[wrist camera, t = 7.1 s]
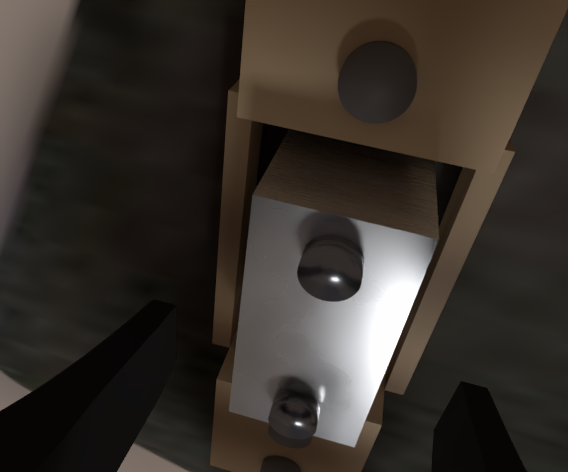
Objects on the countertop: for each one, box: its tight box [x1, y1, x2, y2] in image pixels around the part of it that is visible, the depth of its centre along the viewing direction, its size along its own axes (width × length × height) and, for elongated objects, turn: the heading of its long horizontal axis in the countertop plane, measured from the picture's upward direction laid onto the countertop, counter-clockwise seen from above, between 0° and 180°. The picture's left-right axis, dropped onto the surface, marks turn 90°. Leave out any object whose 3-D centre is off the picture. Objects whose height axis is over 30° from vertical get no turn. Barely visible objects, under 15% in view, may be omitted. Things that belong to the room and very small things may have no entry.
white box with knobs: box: [229, 129, 439, 447], centre depth 14 cm, size 8×4×6 cm, turn 173°
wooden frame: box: [210, 0, 568, 472], centre depth 15 cm, size 22×7×3 cm, turn 173°
